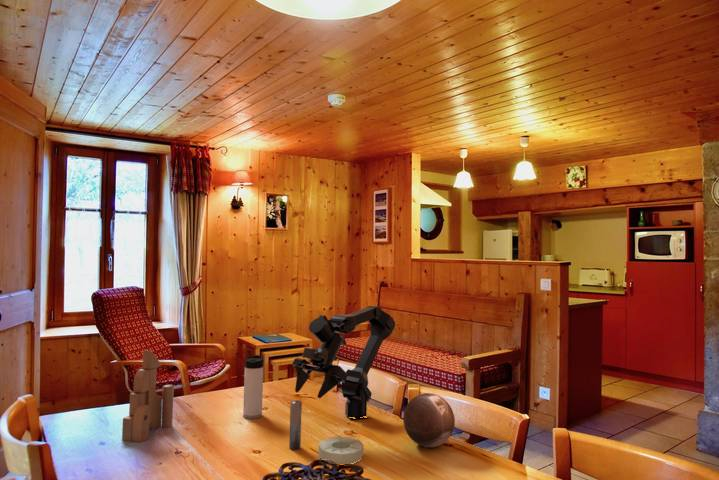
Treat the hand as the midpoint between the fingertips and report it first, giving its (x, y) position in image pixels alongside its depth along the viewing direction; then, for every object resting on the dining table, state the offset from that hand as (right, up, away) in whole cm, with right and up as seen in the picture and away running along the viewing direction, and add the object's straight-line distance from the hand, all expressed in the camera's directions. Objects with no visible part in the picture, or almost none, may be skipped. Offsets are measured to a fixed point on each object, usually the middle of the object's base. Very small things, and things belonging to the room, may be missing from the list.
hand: (307, 394), depth 147 cm
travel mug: (-21, -13, +18) cm, 30 cm away
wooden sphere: (+36, -14, -4) cm, 39 cm away
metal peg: (-3, -12, -9) cm, 15 cm away
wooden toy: (-48, -12, +1) cm, 50 cm away
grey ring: (+11, -13, -13) cm, 21 cm away
